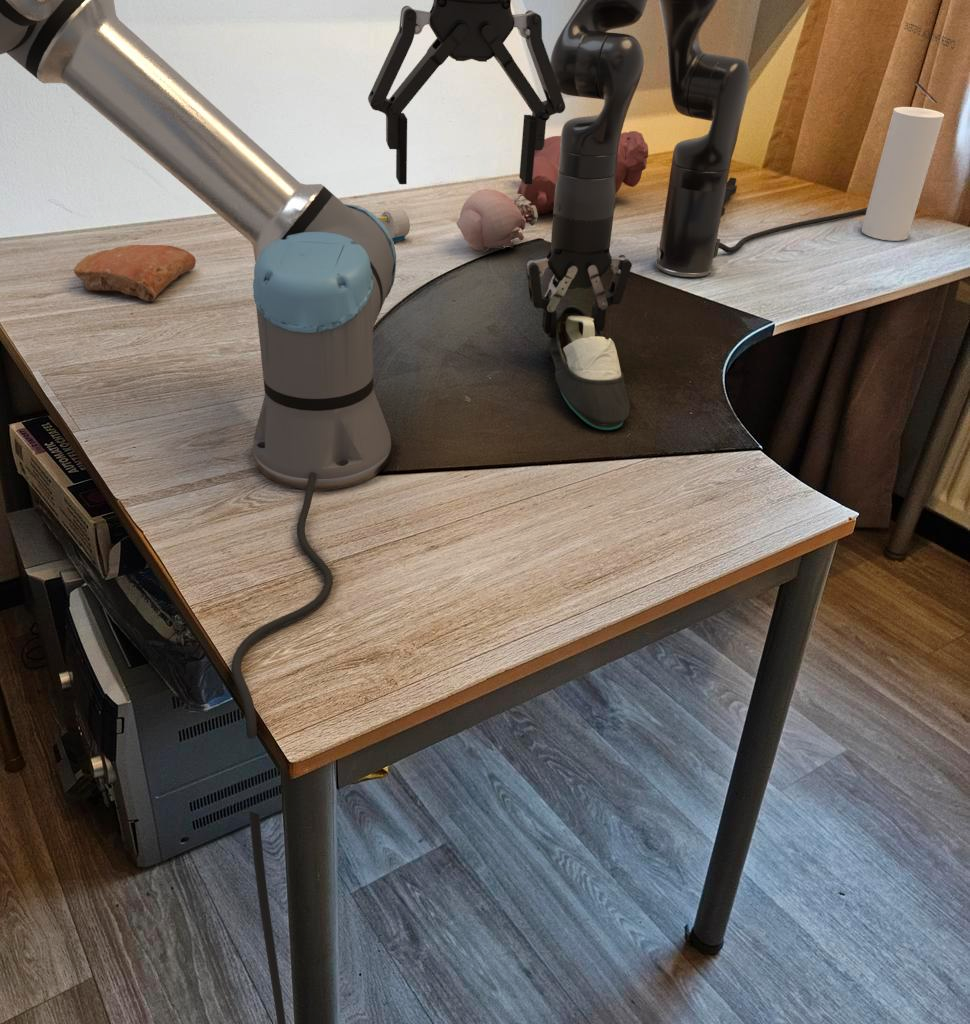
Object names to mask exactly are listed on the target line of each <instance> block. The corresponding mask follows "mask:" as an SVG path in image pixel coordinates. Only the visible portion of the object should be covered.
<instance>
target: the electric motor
mask: <svg viewBox="0 0 970 1024" xmlns="http://www.w3.org/2000/svg"><path fill="white" fill-rule="evenodd" d="M377 218H379V219H380V221H381V222H382V223H383V224H384V225H385V227H386V228H387V230H388V231H389V233H390V235H391V237H392V239H393V242H394V243H396V242H399V241H404V240H405V238H406V236H407V235H409V233H410V229H411V222H410V218H409V216H408V213H407V212H406V210H404V209H403V208H397V209H392V210H387V211H384V212H383V213H382V214H381V216H377Z"/></svg>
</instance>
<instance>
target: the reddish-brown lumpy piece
mask: <svg viewBox="0 0 970 1024" xmlns="http://www.w3.org/2000/svg"><path fill="white" fill-rule="evenodd" d="M560 143H561V135H554V136H549V137H545V139H544V147H543V149H542V150H535V154H534V165H533V177H532V184H524V182H523V181H522V180H521V179H520V181H521V182H520V185H519V186H518V189H517V194H518V195H520V196H524V198H526V199H527V200H530V201H531V204H530V206H534V205H535V207H536V210H537V214H546V213H549V212H551V211H553V210H554V197H555V187H556V181H557V177H558V170H559V158H560ZM648 157H649V146H648V143H647V142H646V141H645V139H644V135H643V134H642V132H638V131H636V130H631V131H628V132H627V131H624V132H621V136H620V141H619V148H618V157H617V167H616V194H618V192H619V191H620V189H621V186H622V184H624V185H625V186H627V187H631V188H635V187H636V186H637V185H638V184H639V183H640V181H641V178H642V174H643V171H645V170H646V169H647V164H648V161H647V160H648Z"/></svg>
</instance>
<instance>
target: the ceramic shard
mask: <svg viewBox="0 0 970 1024" xmlns="http://www.w3.org/2000/svg"><path fill="white" fill-rule="evenodd" d="M196 264H197V259H196V257H195V256H194V254H192V253H190V252H189V251H188V250H186V249H184V248H180V247H177V246H174V245H169V244H167V245H166V244H130V245H125V246H123V245H122V246H117V247H114V248H111V249H104V250H102V251H101V250H100V251H98V252H95V253H91V254H88V255H86V256H85V257H83V259H81V260H80V261H79V262H77V264H76V266H75V267H74V269H73V273H74V275H75V276H76V277H77V278H79V279H80V280H81V282H82V283H83V285H84V286H85V288H86V289H87V290H88V291H116V292H117V291H118V292H121V293H123V294H125V295H127V296H134V297H137V298H139V299H141V300H143V301H146V302H152V301H154V300H155V299H156V298H157V297H158V295H160V294H161V292H162V291H163V290H164V289H165V288H166V287H167V286H169V284H171V283H172V282H173V281H175V280H176V279H178V277H179V276H181V275H183V274H184V273H186V272H189V271H192V270H194V269H195V267H196Z"/></svg>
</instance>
